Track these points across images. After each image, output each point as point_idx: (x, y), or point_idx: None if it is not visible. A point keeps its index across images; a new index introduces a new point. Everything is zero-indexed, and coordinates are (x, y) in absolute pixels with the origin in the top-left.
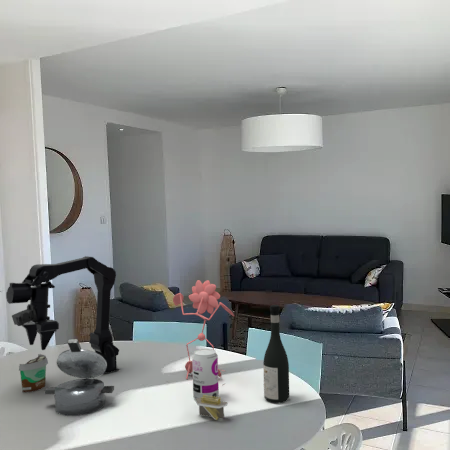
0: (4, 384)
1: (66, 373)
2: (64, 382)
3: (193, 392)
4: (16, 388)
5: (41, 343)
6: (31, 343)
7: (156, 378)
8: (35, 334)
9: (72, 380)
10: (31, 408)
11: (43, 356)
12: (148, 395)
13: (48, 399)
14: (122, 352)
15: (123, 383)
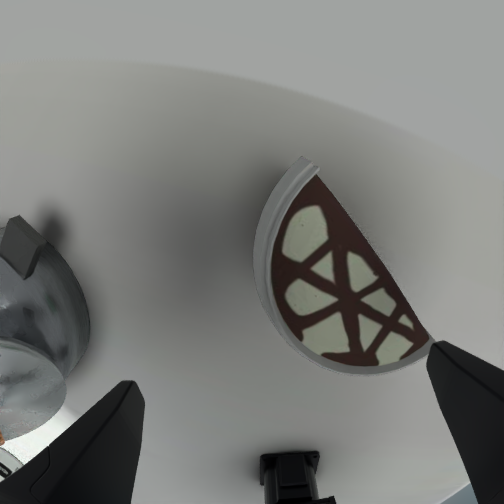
0: (446, 149)
1: (41, 352)
2: (41, 317)
3: (2, 459)
4: (366, 168)
5: (81, 426)
6: (435, 361)
7: (139, 493)
8: (469, 457)
9: (52, 350)
10: (76, 157)
11: (393, 363)
12: (41, 434)
13: (125, 239)
14: (390, 499)
15: (143, 453)
